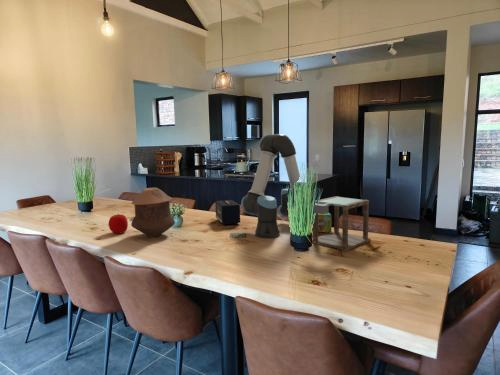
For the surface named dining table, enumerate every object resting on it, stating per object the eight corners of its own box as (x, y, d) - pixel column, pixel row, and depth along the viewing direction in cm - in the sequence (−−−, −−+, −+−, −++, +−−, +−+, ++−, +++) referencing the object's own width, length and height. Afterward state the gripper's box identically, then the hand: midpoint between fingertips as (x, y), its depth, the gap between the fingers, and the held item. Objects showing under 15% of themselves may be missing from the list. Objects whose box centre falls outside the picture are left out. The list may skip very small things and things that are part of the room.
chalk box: (316, 233, 211) (317, 209, 209) (314, 229, 220) (314, 207, 218) (331, 233, 210) (332, 209, 208) (328, 229, 219) (328, 206, 217)
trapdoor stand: (346, 251, 175) (346, 206, 172) (310, 242, 192) (310, 201, 189) (370, 241, 192) (371, 200, 189) (335, 233, 209) (335, 195, 206)
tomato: (124, 235, 215) (123, 215, 213) (106, 235, 215) (104, 216, 213) (131, 230, 227) (130, 211, 225) (114, 230, 227) (112, 212, 226)
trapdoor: (325, 214, 166) (325, 206, 166) (299, 210, 178) (299, 202, 177) (363, 204, 190) (363, 197, 190) (338, 201, 202) (338, 194, 201)
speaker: (215, 219, 253) (215, 199, 251) (232, 218, 257) (232, 198, 255) (222, 226, 232) (221, 204, 230) (240, 224, 236) (239, 203, 234)
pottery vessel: (180, 230, 224) (178, 185, 220) (167, 241, 199) (164, 190, 195) (142, 230, 227) (140, 185, 223) (125, 241, 202) (121, 191, 198)
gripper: (309, 215, 238) (335, 220, 222) (285, 222, 221) (311, 227, 206) (309, 205, 237) (335, 209, 221) (285, 210, 220) (311, 215, 205)
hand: (323, 218), depth 214 cm, fingers open, 13 cm apart
